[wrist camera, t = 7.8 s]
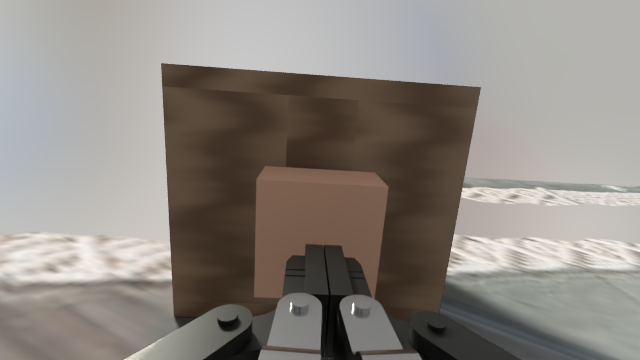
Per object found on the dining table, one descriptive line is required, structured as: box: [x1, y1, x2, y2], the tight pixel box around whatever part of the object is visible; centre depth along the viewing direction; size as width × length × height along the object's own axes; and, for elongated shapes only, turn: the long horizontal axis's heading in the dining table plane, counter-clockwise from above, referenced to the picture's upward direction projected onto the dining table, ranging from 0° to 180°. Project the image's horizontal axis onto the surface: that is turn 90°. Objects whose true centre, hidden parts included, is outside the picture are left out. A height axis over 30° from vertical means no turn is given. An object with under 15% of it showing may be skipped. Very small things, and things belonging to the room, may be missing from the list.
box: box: [161, 63, 481, 322], centre depth 24 cm, size 18×10×16 cm, turn 93°
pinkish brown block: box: [254, 166, 389, 299], centre depth 19 cm, size 6×9×6 cm, turn 3°
